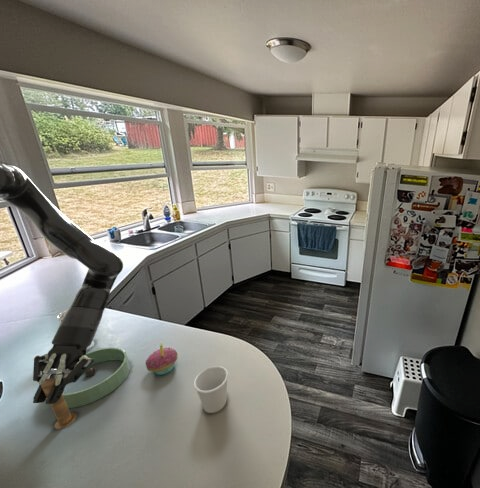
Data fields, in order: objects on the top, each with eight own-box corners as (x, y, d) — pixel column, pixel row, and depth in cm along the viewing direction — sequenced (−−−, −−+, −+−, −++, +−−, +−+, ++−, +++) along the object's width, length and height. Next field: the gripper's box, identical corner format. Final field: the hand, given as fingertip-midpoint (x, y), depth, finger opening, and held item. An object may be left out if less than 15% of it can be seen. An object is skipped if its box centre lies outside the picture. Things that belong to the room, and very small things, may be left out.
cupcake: (185, 367, 82) (179, 337, 78) (157, 386, 75) (149, 354, 71) (170, 356, 86) (163, 327, 82) (143, 373, 79) (134, 343, 75)
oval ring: (42, 421, 64) (34, 406, 62) (66, 372, 78) (61, 358, 76) (125, 394, 72) (121, 379, 70) (134, 353, 86) (130, 341, 84)
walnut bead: (85, 379, 75) (83, 373, 74) (87, 373, 77) (85, 367, 76) (95, 376, 76) (93, 370, 76) (97, 370, 78) (95, 364, 78)
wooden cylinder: (52, 434, 61) (32, 392, 57) (59, 419, 65) (40, 379, 60) (74, 426, 63) (56, 385, 58) (79, 413, 66) (63, 372, 62)
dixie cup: (207, 426, 64) (202, 398, 61) (193, 406, 69) (188, 378, 66) (237, 404, 70) (234, 377, 67) (222, 386, 75) (218, 360, 72)
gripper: (39, 323, 63) (-3, 403, 55) (93, 325, 62) (57, 407, 55) (67, 326, 69) (33, 399, 62) (116, 329, 69) (87, 402, 62)
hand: (44, 402), depth 59 cm, fingers closed on wooden cylinder, 2 cm apart
